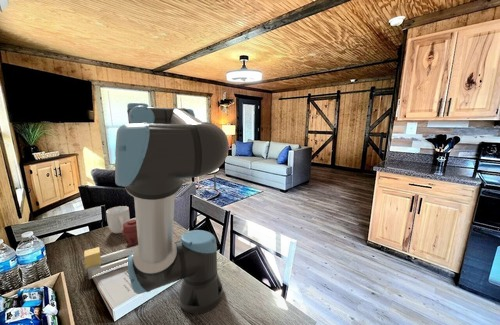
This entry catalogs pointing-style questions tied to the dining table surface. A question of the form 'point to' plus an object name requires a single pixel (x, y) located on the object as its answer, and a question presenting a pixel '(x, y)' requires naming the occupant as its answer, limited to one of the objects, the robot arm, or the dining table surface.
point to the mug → (117, 218)
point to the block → (92, 257)
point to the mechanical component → (130, 232)
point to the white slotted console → (111, 257)
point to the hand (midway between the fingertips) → (145, 194)
